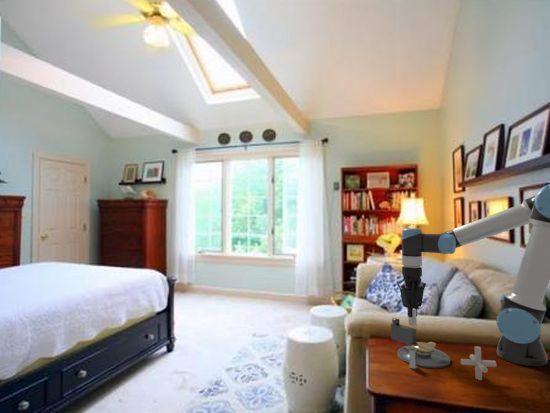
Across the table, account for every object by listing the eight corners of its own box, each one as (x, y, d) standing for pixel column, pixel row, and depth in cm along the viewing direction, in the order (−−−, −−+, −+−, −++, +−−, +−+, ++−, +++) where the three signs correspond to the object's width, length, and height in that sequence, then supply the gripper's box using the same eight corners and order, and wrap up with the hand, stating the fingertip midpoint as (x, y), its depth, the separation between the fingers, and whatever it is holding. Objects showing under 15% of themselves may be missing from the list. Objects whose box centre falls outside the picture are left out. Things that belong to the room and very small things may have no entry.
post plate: (460, 360, 122) (459, 343, 123) (425, 374, 111) (425, 356, 112) (416, 345, 138) (416, 330, 138) (382, 356, 127) (382, 340, 127)
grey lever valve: (443, 348, 125) (442, 326, 126) (421, 356, 119) (421, 333, 119) (403, 335, 140) (402, 315, 141) (382, 341, 133) (381, 320, 134)
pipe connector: (503, 387, 102) (502, 354, 103) (467, 384, 104) (466, 352, 105) (489, 373, 112) (488, 342, 113) (456, 370, 114) (456, 340, 115)
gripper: (416, 264, 142) (417, 320, 141) (392, 265, 137) (393, 323, 136) (431, 266, 135) (432, 325, 134) (406, 268, 130) (407, 329, 129)
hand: (412, 324), depth 135 cm, fingers closed
